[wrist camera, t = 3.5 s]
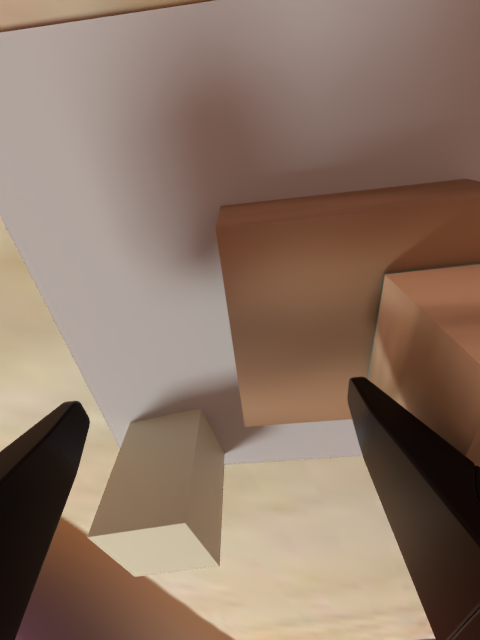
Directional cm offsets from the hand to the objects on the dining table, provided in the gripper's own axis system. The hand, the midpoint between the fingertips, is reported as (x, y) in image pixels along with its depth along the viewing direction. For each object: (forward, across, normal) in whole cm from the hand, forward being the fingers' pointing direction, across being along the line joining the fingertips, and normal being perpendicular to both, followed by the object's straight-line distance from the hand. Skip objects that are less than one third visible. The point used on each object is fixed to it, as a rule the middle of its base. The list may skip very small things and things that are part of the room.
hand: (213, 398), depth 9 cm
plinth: (+6, -5, 0) cm, 8 cm away
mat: (+6, -5, +1) cm, 8 cm away
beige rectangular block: (+5, +4, +9) cm, 11 cm away
